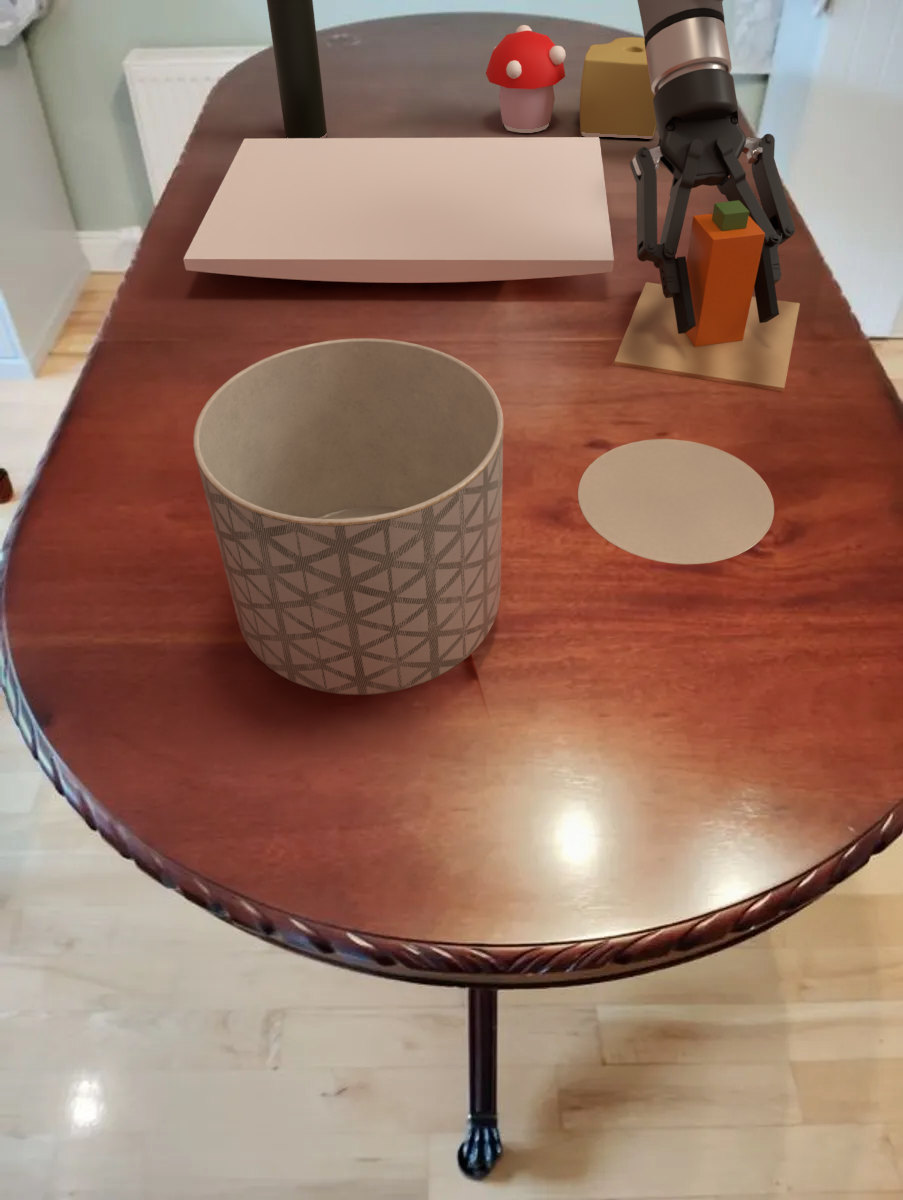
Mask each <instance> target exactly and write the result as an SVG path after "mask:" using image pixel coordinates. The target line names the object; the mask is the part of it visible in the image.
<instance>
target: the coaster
mask: <svg viewBox="0 0 903 1200" xmlns="http://www.w3.org/2000/svg"><path fill="white" fill-rule="evenodd" d="M777 303H778V310H779V315H777V316H776V317H774V318H773V319H771V320H769V321H768V322H764V323H759V317H758V310H757V303H756V297H755V296H752V299H751V304H750V309H749V313H748V318H747V323H746V328H745V332H744V337H743V340H741V341H733V342H726V343H718V344H711V345H704V346H696V347H695V346H694V344H693V343H692V341H691V340H690V339H689V337H688V336H687V334H686V333H681V334H678V329H677V322H676V316H675V309H674V303H673V297H671V298H665V296H664V294H663V290H662V284H661V283H655V282H654V283H653V282H649V281H645V283H644V286H643V288H642V290H641V293H640V296H639V298H638V300H637V303H636V305H635V308H634V310H633V313H632V316H631V318H630V320H629V323H628V326H627V327H626V331H625V333H624V336H623V338H622V340H621V342H620V345H619V348H618V350H617V353H616V355H615V358H614V360H613V366H616V367H617V366H618V367H623V368H630V369H636V370H642V371H648V372H655V373H661V374H667V375H673V376H674V375H675V376H681V377H685V378H693V379H700V380H705V381H713V382H719V383H725V384H731V385H737V386H744V387H749V388H757V389H761V390H768V391H774V392H781V393H784V392H785V387H786V382H787V376H788V371H789V366H790V360H791V354H792V349H793V344H794V339H795V332H796V328H797V321H798V317H799V312H800V305H801V303H800V302H794V301H787V300H779V299H777Z"/></svg>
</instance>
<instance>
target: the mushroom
mask: <svg viewBox="0 0 903 1200" xmlns="http://www.w3.org/2000/svg"><path fill="white" fill-rule="evenodd" d="M566 57H567V55H566V50H565V49H564V47H563V46H561V45H556V44H555V43H554V42H553V40H552V39H551V37H549V36H548V35H546V34H543V33H539V32H536V31H533V30H532V28H531V27H530V26H529V25H527V24H522V25H519V26H518V27H517V28H516V30H515V32H512V33H508V34H506V35H505V36H504V37H503V39H501V41H500V42H499V43H498V44H497V45H496V46H494V48H493V50H492V52H491V55H490V58H489V62H488V65H487V68H486V71H485V76H486V78H487V80H488V82H489V83H490V84H493V85H494V84H495V85H497V86H500V88H499V93H498V102H499V109H500V115H501V123H502V124H503V123H504V124H505V125H506V126H509V127H512V128H516V129H535V128H540V127H543V126H545V125H547V124H548V123H549V122H550V123H551V121H552V116H553V110H554V105H555V101H556V96H555V89H554V86H555V85H558V83H560V82H561V81H562V80H563V79H565V77H566V71H565V66H564V61H565V59H566Z"/></svg>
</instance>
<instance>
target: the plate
mask: <svg viewBox="0 0 903 1200" xmlns="http://www.w3.org/2000/svg"><path fill="white" fill-rule="evenodd" d="M577 500H578V506H579V508H580V511H581V513H582V516H583V517H584V519H585V520H586V522H587V523H588V525H589V526H590V527H591V528H592V529H593V530H594V531H595V532H596V533H597V534H598V535H599V536H601V537H602V538H603V539H604V540H606V541H607V542H608V543H610V544H612V545H613V546H614V547H617V548H618V549H621V550H623V551H625V552H627V553H629V554H630V555H631V554H632V555H634V556H637V557H640V558H643V559H646V560H651V561H655V562H658V563H659V562H660V563H666V564H672V565H673V564H674V565H701V564H711V563H716V562H720V561H724V560H728V559H731V558H734V557H737V556H738V555H741V554H743V553H745V552H746V551H749V550H750V549H751V548H753V547H754V546H756V545H757V544H758V543H759V542H760V541H761V540H763V538H764V537H765V535H767V534H768V532H769V530H770V528H771V526H772V523H773V520H774V516H775V504H774V498H773V495H772V493H771V490H770V488H769V487H768V485H767V483H766V481H764V479H763V478H762V476H761V475H760V474H759V473H758V472H756V470H754V468H753V467H751V466H750V465H748V464H747V463H746V462H745V461H743V460H741V459H740V458H738V457H737V456H735V455H733V454H731V453H729V452H727V451H724V450H722V449H719V448H717V447H714V446H712V445H708V444H704V443H701V442H697V441H692V440H684V439H675V438H674V439H673V438H653V439H643V440H637V441H633V442H629V443H625V444H622V445H620V446H617V447H614V448H612V449H610V450H608V451H606V452H604V453H602V454H601V455H600V456H598V457H597V458H595V459H594V460H593V461H592V462H591V463H590V464H589V465H588V466H587V468H586V469H585V470H584V472H583V473H582V476H581V477H580V480H579V483H578V487H577Z"/></svg>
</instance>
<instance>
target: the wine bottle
mask: <svg viewBox="0 0 903 1200" xmlns="http://www.w3.org/2000/svg"><path fill="white" fill-rule="evenodd" d="M266 4H267V13H268V19H269V28H270V34H271V35H270V36H271V40H272V41H271V42H272V48H273V55H274V63H275V69H276V70H275V71H276V78H277V84H278V91H279V99H280V107H281V113H282V122H283V127H284V134H285V135H286V136H285V138H286V137H288V138H320V137H322V136H324V135H325V134H326V133H327V134H328V130H327V120H326V111H325V110H326V109H325V102H324V93H323V84H322V73H321V65H320V55H319V48H318V47H319V45H318V39H317V37H318V36H317V27H316V20H315V19H316V18H315V10H314V1H313V0H266Z"/></svg>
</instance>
